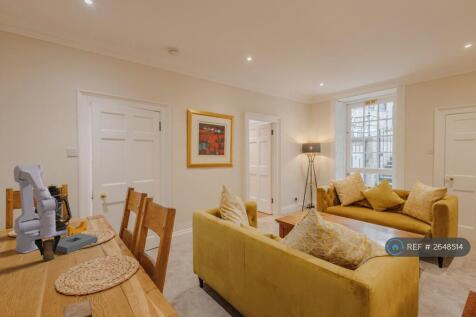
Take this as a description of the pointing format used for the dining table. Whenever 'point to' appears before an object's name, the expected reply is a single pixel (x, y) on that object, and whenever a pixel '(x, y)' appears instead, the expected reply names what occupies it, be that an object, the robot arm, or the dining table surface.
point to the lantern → (58, 209)
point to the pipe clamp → (76, 229)
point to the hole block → (75, 242)
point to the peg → (48, 250)
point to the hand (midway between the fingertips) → (48, 253)
